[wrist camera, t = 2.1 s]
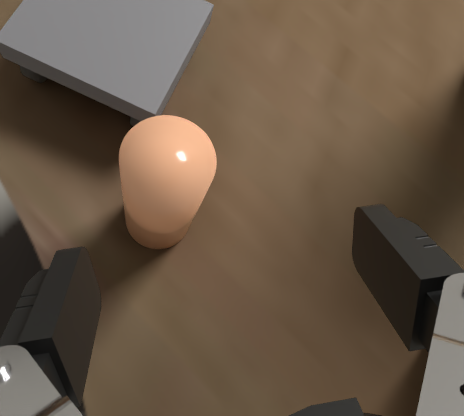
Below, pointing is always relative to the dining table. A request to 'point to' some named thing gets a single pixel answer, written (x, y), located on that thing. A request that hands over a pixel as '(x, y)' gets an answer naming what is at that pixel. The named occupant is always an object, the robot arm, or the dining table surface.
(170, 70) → the caster cart
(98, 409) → the dining table surface
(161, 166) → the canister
